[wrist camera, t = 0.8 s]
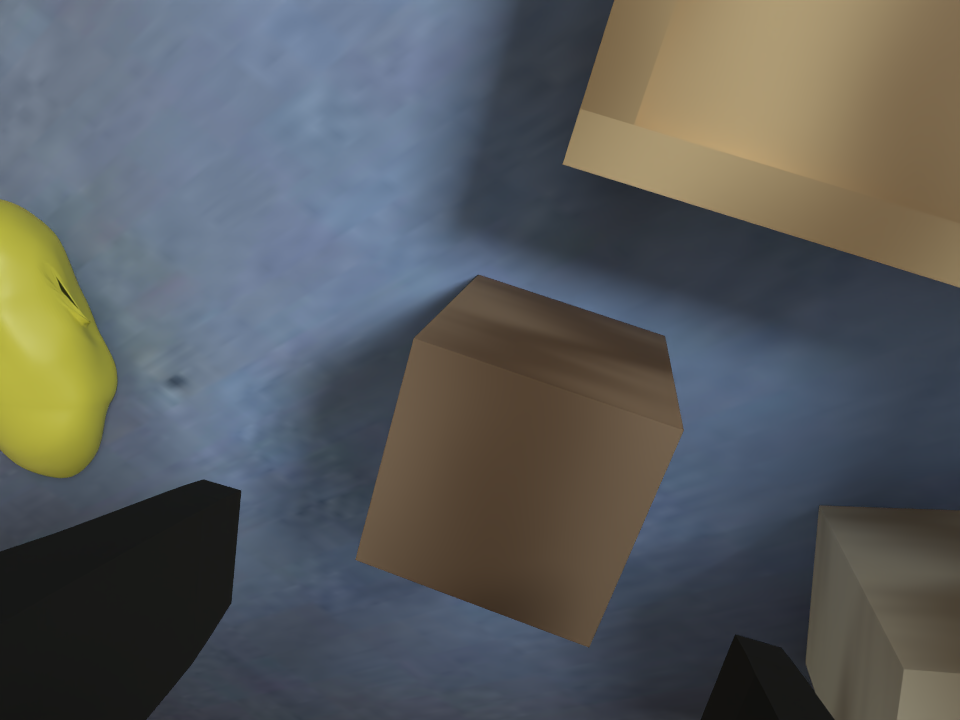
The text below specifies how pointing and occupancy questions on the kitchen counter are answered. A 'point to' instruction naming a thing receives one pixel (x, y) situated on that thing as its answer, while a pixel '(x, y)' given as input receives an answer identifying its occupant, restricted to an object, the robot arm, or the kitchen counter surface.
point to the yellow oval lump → (47, 353)
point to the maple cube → (886, 613)
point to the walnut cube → (523, 456)
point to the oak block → (789, 118)
